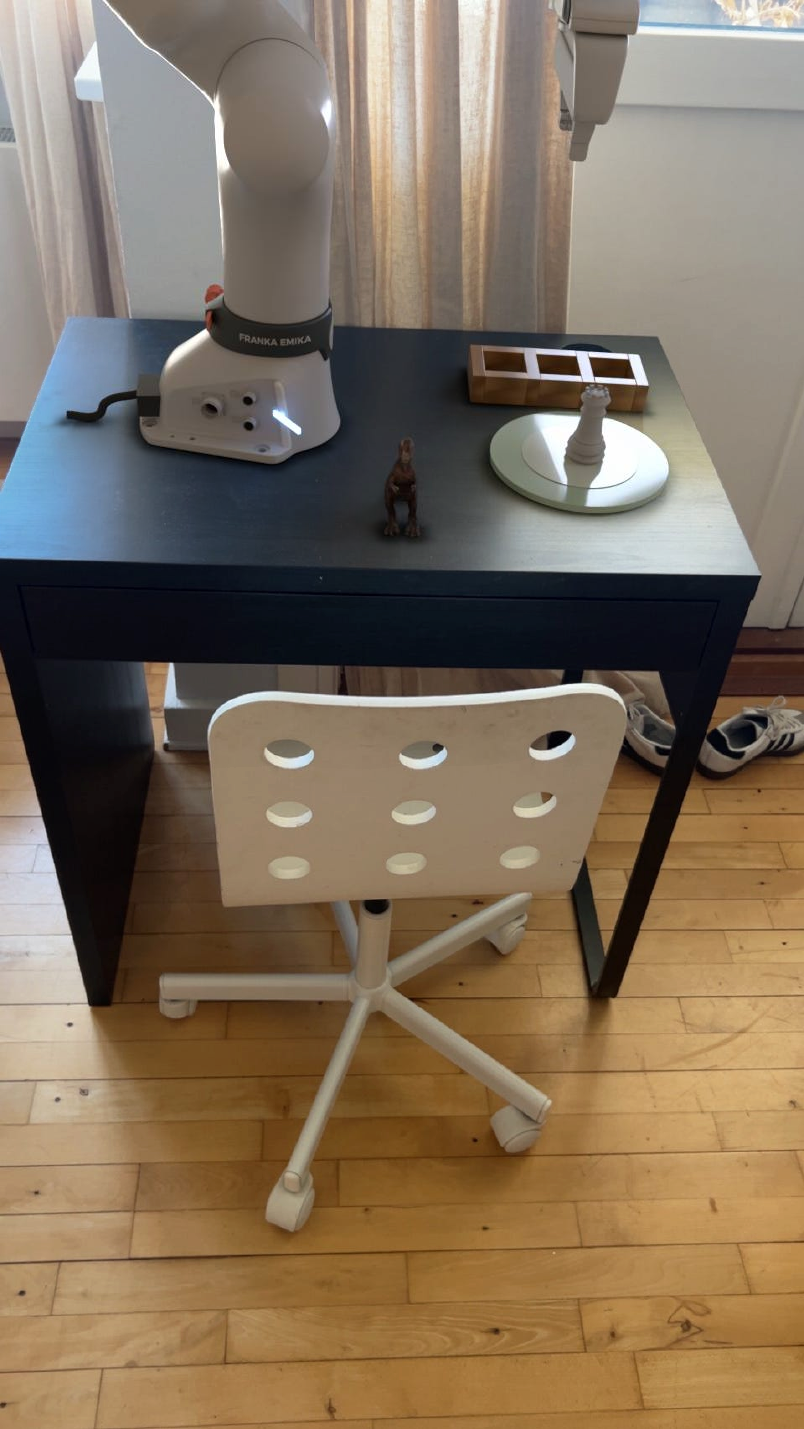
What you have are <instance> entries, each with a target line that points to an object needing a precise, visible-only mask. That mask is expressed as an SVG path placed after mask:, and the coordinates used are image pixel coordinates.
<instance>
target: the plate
mask: <svg viewBox="0 0 804 1429" xmlns="http://www.w3.org/2000/svg"><path fill="white" fill-rule="evenodd" d="M580 418H581V412H580V411H579V412H578V411H577V412H576V411H559V410H558V411H543V412H537V413H531V414H527V415H524V416H520V417H518V418H515V419H513V420H511V421H509V422H507V423H506V424H504V425H502V426H501V427H500V428H498V430H497V431H496V433H495V434H494V435H493V437H492V439H491V442H490V446H489V455H488V456H489V461H490V462H489V463H490V465H491V467H492V469H493V471H494V472H495V474H496V475H497V477H498V478H499V479H500V480H501V481H502V482H503V483H504V484H506V485H507V486H508V487H509V488H511V489H512V490H513V491H515V492H516V493H518V494H519V495H521V496H524V497H525V498H528V499H529V500H531V501H534V502H537V503H539V504H542V505H545V506H548V507H551V508H555V509H559V510H562V511H569V512H574V513H585V514H609V513H610V514H611V513H619V512H624V511H629V510H633V509H636V508H639V507H642V506H644V505H646V504H649V503H650V502H651V501H653V500H655V499H656V498H657V497H658V496H659V495H660V494H661V493H662V492H663V491H664V489H665V487H666V485H667V483H668V479H669V475H670V466H669V461H668V459H667V457H666V454H665V453H664V451H663V450H662V449H661V447H659V445H658V444H657V443H656V442H654V441H653V439H651V438H650V437H649V436H648V435H645V434H644V433H642V432H641V431H639V430H638V429H636V428H634V427H632V426H631V425H628V424H626V423H623V422H621V421H618V420H615V419H612V418H609V417H605V416H604V417H603V424H602V435H603V437H604V441H605V444H606V449H605V451H604V452H605V456H604V458H603V459H602V460H601V461H600V462H598V463H596V464H591V465H584V464H579V463H576V462H574V461H572V460H571V459H570V458H569V457H568V455H567V454H566V450H565V448H566V446H567V445H568V444H567V441H568V439H569V437H570V436H571V435H572V434H573V432H574V431H575V430H576V429H577V426H578V423H579V421H580Z"/></svg>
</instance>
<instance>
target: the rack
mask: <svg viewBox="0 0 804 1429" xmlns="http://www.w3.org/2000/svg"><path fill="white" fill-rule="evenodd" d="M466 373H467V382H468V393H469V402H470V403H477V404H479V403H481V404H492V405H493V404H494V405H495V404H496V405H512V406H529V407H545V408H546V407H547V408H563V409H564V408H565V409H581V407H582V406H583V404H584V403H583V401H582V399H581V394H582V393H583V392H585V389H586V387H587V386H588V387H589V386H590V385H592V384H594V385H595V386H594V388H598V385H602V386H603V387H602V390H604V388H607V389H608V392H609V396H610V399H611V402H610V403H609V404H608V405H607V406H606V407H605V410H606V411H619V412H620V411H621V412H632V413H633V412H636V413H644V410H645V407H646V402H647V398H648V393H649V389H650V384H649V381H648V378H647V374H646V372H645V369H644V366H643V362H642V359H641V356H640V354H637V353H636V354H633V353H619V352H618V353H617V352H599V351H583V350H568V349H552V348H536V347H521V346H520V347H519V346H518V347H517V346H505V345H504V346H501V345H485V344H483V345H481V344H470V345H469V352H468V361H467V372H466Z"/></svg>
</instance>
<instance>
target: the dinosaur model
mask: <svg viewBox="0 0 804 1429" xmlns="http://www.w3.org/2000/svg"><path fill="white" fill-rule="evenodd" d="M397 447H398V454H399V455H398V458H397V459H396V461H395V462H394V463H393V466H392V469H391V470H390V473H389V474H388V475H387V478H386V481H385V484H384V501H385V502H384V505H385V509H386V511H387V516H388V518H387V519H388V520H387V526H386V527H385V529H384V530H383V532H384V535H385V536H390V537H393V536H395V535H396V536H397V535H399V533H400V531H401V529H400V526H399V524H398V523H399V522H398V518H397V511H396V508H395V505H394V502H395V501H398V502H402V503H403V502H405V503H406V504H407V508H408V514H407V524H406V526H405V528H404V535H405V536H409V537H411V538H414V537H419V536H420V535H421V534H420V533H421V532H420V526H419V520H418V517H417V510H418V489H417V488H418V480H417V473H416V468H415V466H414V465H413V463H412V459H413V458H412V457H413V455H414V452H415V451H414V450H415V446H414V441H413V439H412V438H411V437H402V438H401V440H400V441H399V443H398V446H397Z"/></svg>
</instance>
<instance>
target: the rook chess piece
mask: <svg viewBox="0 0 804 1429" xmlns="http://www.w3.org/2000/svg"><path fill="white" fill-rule="evenodd" d="M594 386H595V385H594V384H592V385H590V386H589V387H588V386H587V387H586V389H585V392H583V393H582V394H581V399H582V401H583V403H584V404H583V406H582V407H581V409H580V413H581V418H580V421H579V423H578V426H577V429H576V430H575V431H574V432H573V434H572V435H571V436H570V437H569V439H568V441H567V444H568V445H567V446H566V448H565V450H566V454H567V455H568V457H569V458H570V459H571V460H572V461H574V462H576V463H579V464H584V465H591V464H596V463H598V462H600V461H601V460H602V459H603V458H604V456H605V452H604V451H605V449H606V444H605V441H604V437H603V435H602V424H603V417H605V416H606V415H607V410H605V407H606V406H607V405H608V404H609V403H610V402H611V399H610V396H609V392H608V389H607V388H604V390H602V387H603V386H602V385H598V388H594Z"/></svg>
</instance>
